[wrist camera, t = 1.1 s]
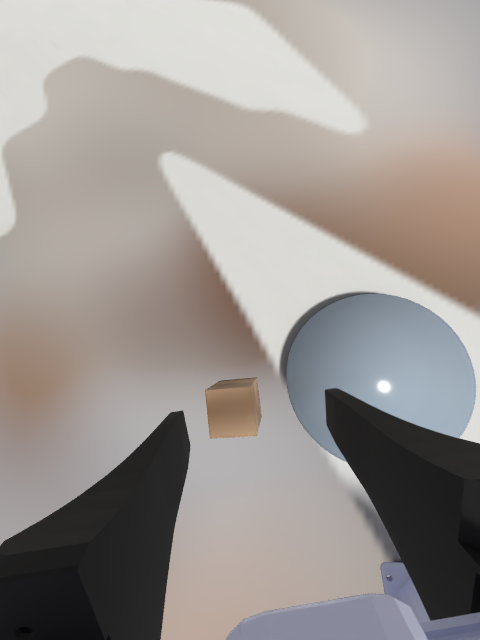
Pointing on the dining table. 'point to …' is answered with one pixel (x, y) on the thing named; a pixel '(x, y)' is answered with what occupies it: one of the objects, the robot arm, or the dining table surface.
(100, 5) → the dining table surface
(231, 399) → the walnut block
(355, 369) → the slate dish
